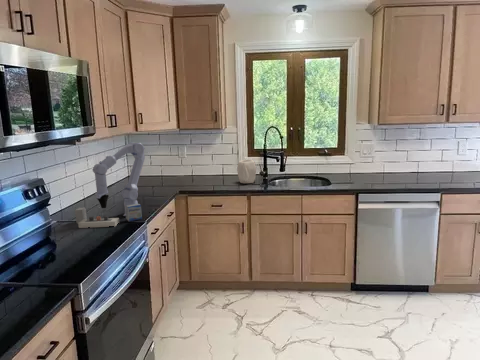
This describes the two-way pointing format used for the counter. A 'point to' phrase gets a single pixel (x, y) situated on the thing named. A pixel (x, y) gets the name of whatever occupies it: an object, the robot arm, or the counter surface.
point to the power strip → (98, 223)
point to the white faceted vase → (246, 171)
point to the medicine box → (133, 212)
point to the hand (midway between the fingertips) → (103, 208)
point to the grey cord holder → (80, 214)
